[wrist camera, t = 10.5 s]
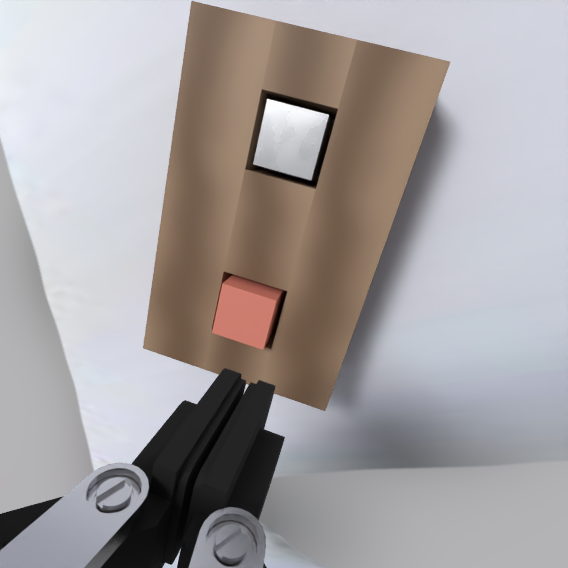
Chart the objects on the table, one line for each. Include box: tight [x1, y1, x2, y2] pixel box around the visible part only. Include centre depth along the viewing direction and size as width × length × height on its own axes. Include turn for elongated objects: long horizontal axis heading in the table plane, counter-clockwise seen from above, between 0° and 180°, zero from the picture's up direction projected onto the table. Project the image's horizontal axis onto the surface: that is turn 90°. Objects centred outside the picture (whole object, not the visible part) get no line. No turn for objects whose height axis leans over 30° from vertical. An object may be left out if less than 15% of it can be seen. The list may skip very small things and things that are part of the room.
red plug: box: [212, 274, 287, 350], centre depth 26 cm, size 4×4×5 cm
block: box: [143, 1, 450, 411], centre depth 26 cm, size 14×22×6 cm, turn 165°
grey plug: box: [253, 99, 334, 180], centre depth 23 cm, size 4×4×5 cm
